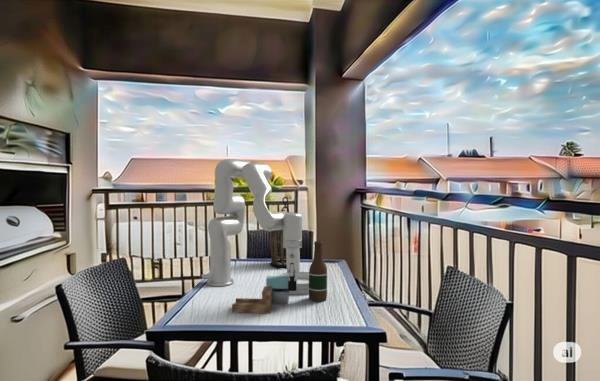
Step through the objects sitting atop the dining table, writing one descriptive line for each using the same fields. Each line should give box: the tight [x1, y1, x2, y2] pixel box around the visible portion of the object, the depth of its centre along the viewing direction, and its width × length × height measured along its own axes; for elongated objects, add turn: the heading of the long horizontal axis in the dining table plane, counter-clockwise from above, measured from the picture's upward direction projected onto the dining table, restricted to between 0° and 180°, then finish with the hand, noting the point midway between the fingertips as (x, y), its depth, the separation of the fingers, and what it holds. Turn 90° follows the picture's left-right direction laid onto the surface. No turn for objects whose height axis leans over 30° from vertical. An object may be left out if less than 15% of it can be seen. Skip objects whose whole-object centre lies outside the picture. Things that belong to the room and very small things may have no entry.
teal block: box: [265, 275, 297, 289], centre depth 152 cm, size 12×4×4 cm, turn 88°
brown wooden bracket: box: [231, 286, 273, 314], centre depth 142 cm, size 14×8×8 cm, turn 88°
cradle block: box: [272, 288, 290, 306], centre depth 152 cm, size 8×8×5 cm
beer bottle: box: [308, 240, 328, 303], centre depth 156 cm, size 8×8×24 cm
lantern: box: [269, 196, 301, 270], centre depth 218 cm, size 19×19×40 cm
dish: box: [277, 271, 309, 296], centre depth 173 cm, size 22×22×5 cm
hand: (292, 288), depth 152 cm, fingers closed on teal block, 4 cm apart
